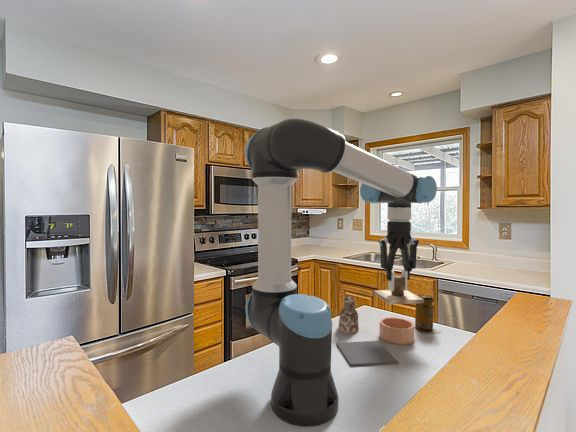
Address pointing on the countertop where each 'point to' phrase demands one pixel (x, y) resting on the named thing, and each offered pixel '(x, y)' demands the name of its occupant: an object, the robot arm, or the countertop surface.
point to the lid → (398, 294)
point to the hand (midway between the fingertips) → (397, 289)
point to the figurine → (348, 316)
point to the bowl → (397, 330)
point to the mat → (366, 353)
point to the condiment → (425, 315)
